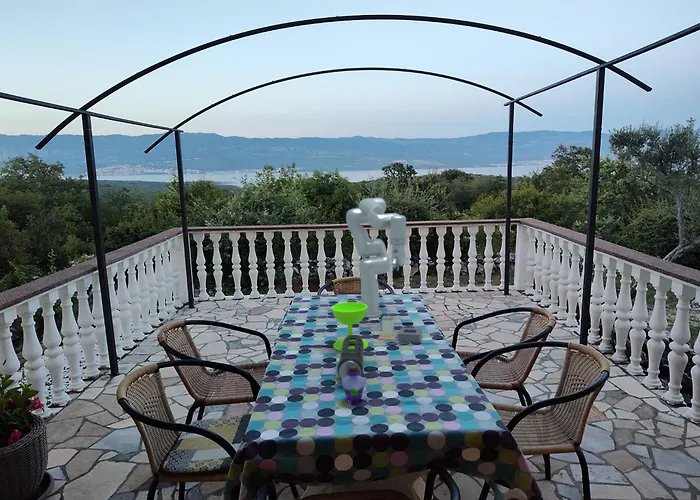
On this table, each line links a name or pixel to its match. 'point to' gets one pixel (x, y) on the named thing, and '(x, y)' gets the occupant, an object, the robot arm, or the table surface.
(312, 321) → the table surface
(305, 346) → the table surface
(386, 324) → the plug
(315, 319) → the table surface
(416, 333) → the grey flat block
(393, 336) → the mat
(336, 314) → the wineglass
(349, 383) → the potion bottle
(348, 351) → the muzzle brake
